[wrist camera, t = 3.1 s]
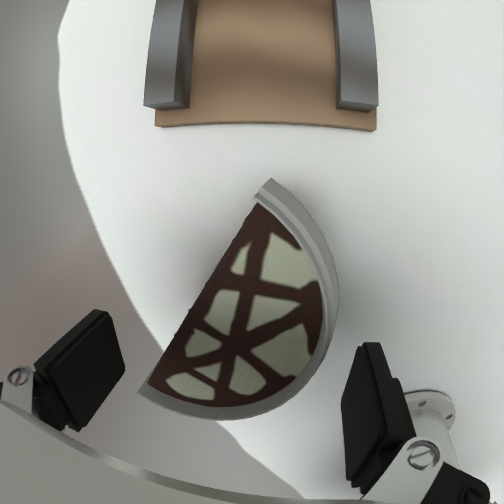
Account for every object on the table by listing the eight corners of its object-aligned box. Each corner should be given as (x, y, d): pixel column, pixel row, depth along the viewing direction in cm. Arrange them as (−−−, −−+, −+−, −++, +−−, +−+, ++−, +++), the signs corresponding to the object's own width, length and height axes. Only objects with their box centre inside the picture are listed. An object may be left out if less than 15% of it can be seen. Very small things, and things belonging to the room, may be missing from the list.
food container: (261, 351, 22) (233, 453, 13) (195, 310, 22) (133, 397, 12) (361, 226, 18) (415, 291, 8) (284, 172, 18) (263, 180, 8)
